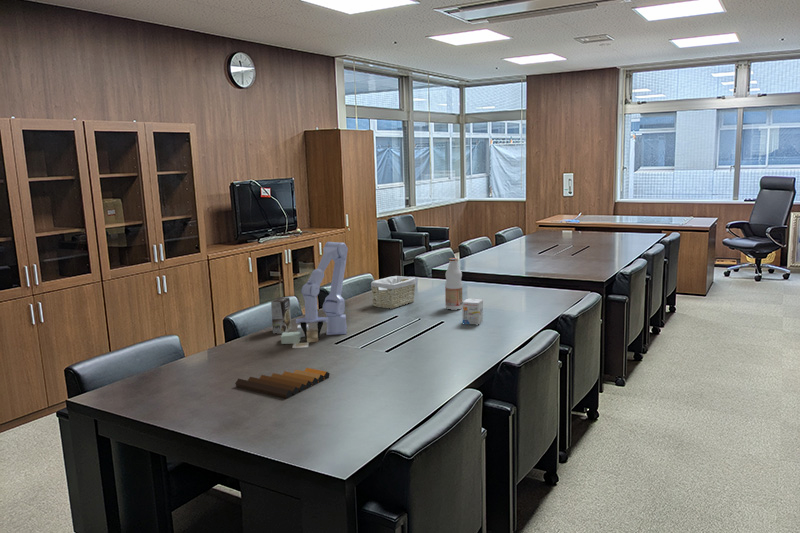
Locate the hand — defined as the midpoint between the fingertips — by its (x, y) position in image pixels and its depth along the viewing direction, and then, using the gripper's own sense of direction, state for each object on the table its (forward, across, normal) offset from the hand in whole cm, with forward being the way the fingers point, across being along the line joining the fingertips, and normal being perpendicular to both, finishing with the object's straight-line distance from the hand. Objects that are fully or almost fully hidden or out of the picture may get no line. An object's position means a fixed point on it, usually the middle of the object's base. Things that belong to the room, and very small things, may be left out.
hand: (312, 337), depth 288 cm
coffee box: (+2, -16, +19) cm, 25 cm away
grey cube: (+2, -5, +9) cm, 10 cm away
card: (+1, -5, -7) cm, 9 cm away
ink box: (+2, +79, +18) cm, 81 cm away
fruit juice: (+2, +75, +50) cm, 90 cm away
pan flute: (+2, -8, -54) cm, 54 cm away
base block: (+1, -10, 0) cm, 10 cm away
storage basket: (+2, +43, +66) cm, 79 cm away
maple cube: (+1, 0, 0) cm, 1 cm away
